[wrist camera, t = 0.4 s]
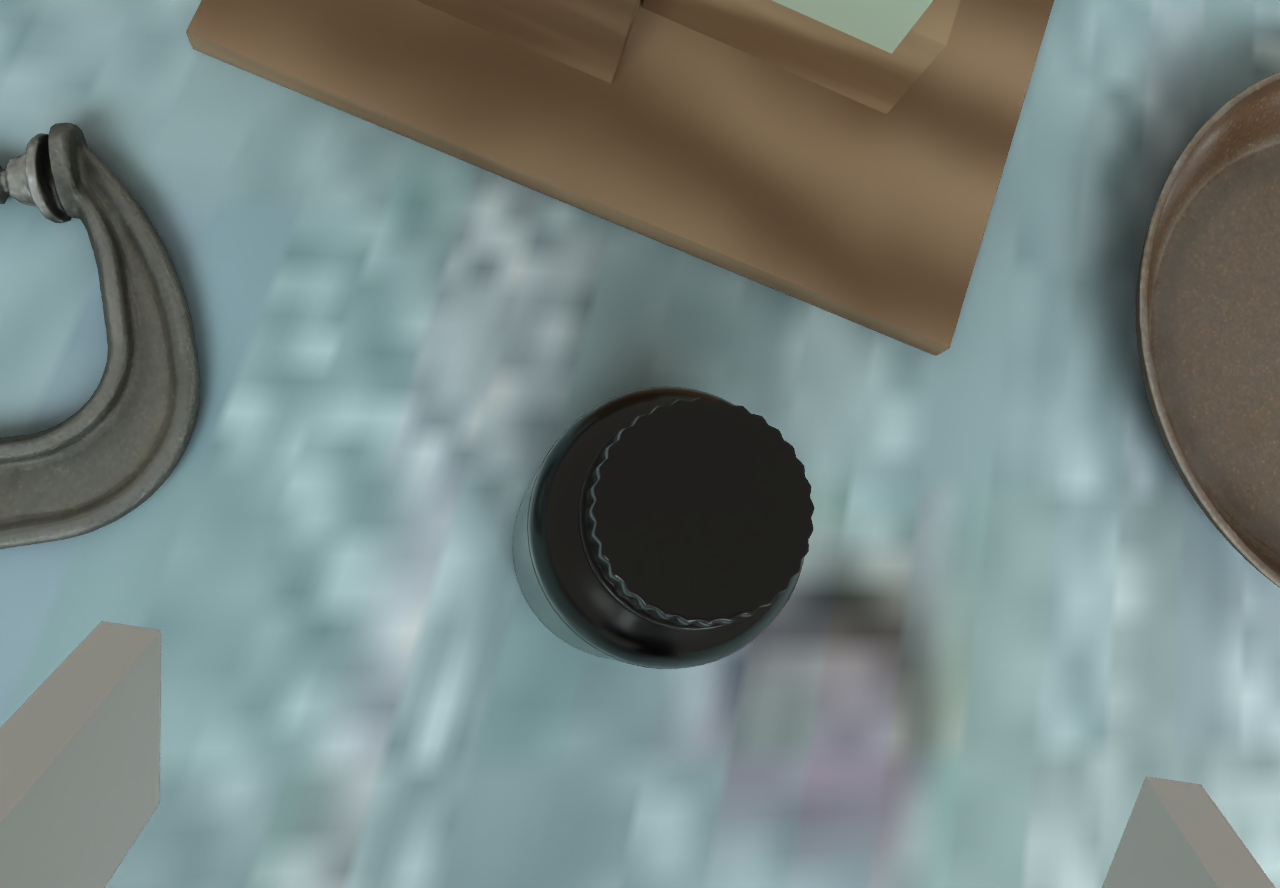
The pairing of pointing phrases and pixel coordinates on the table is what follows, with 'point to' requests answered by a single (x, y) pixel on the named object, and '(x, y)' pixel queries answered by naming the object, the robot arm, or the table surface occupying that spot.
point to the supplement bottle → (663, 529)
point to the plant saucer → (1220, 321)
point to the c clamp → (136, 363)
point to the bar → (865, 17)
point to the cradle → (696, 124)
